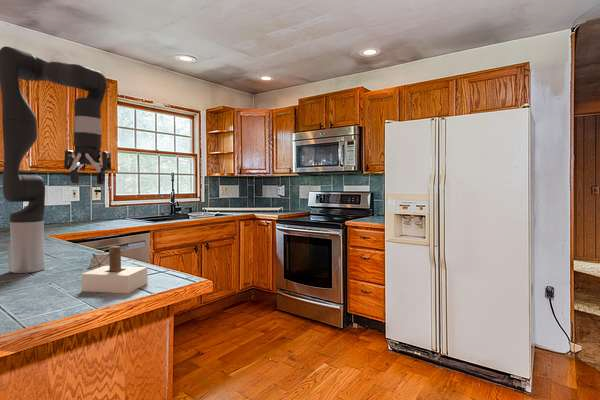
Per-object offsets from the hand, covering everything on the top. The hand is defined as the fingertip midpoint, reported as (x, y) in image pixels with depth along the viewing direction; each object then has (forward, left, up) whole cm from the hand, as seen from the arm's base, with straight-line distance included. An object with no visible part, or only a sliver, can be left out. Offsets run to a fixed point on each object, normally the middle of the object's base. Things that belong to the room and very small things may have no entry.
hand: (87, 183), depth 110 cm
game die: (+2, +3, -31) cm, 31 cm away
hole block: (+14, -8, -31) cm, 34 cm away
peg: (+14, -8, -31) cm, 34 cm away
